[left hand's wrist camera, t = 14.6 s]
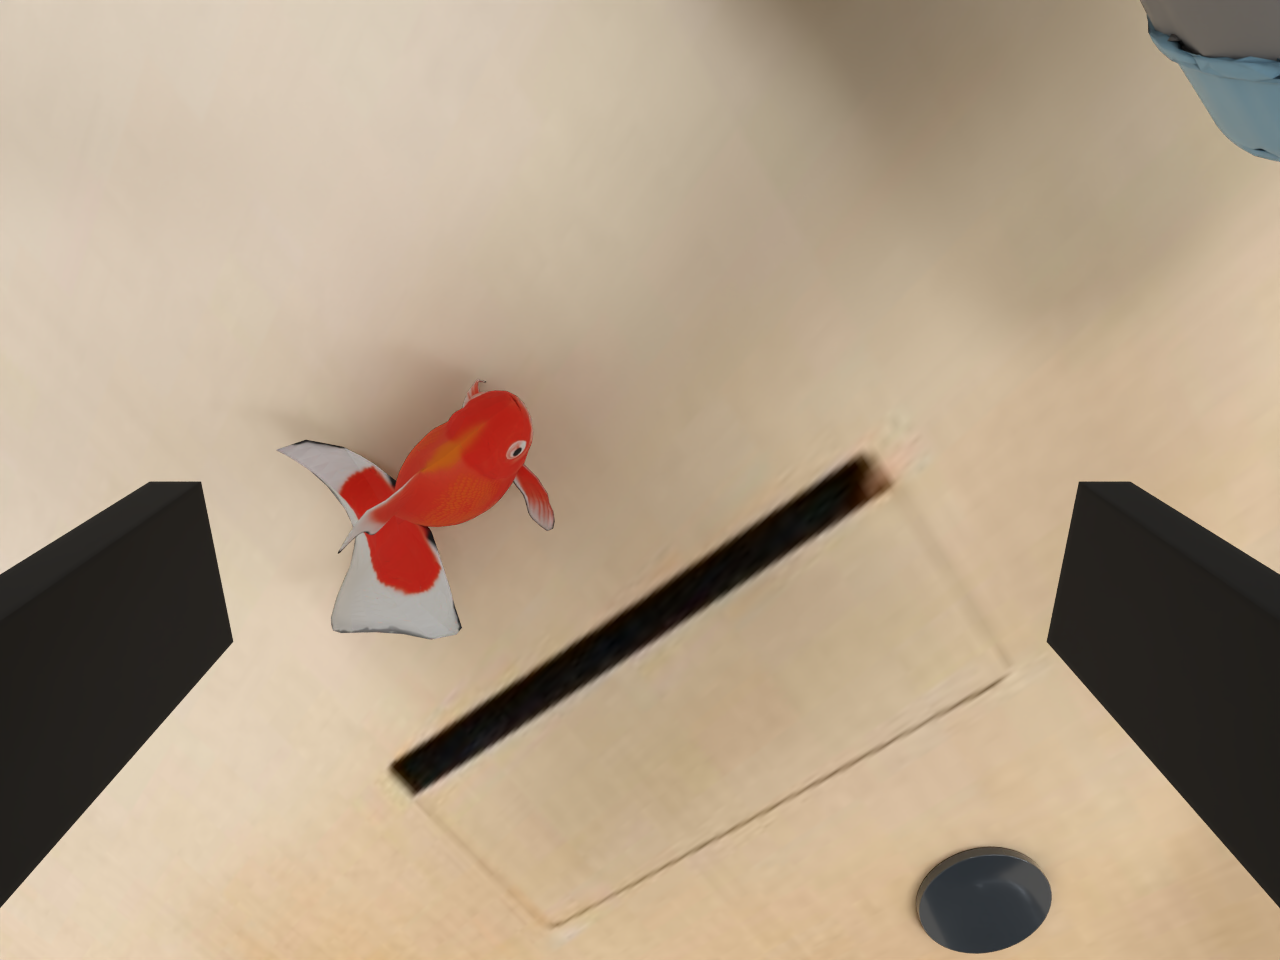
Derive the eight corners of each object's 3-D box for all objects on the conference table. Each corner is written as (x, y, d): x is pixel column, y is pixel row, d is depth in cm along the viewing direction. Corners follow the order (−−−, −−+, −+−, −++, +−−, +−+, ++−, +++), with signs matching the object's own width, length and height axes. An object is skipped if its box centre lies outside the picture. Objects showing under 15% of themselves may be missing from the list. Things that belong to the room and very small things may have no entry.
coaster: (924, 846, 49) (927, 854, 48) (1058, 846, 49) (1063, 854, 48) (908, 945, 51) (911, 953, 51) (1035, 945, 51) (1039, 953, 51)
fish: (656, 556, 37) (510, 640, 28) (440, 626, 45) (281, 706, 37) (566, 334, 37) (394, 355, 28) (367, 448, 45) (192, 489, 37)
